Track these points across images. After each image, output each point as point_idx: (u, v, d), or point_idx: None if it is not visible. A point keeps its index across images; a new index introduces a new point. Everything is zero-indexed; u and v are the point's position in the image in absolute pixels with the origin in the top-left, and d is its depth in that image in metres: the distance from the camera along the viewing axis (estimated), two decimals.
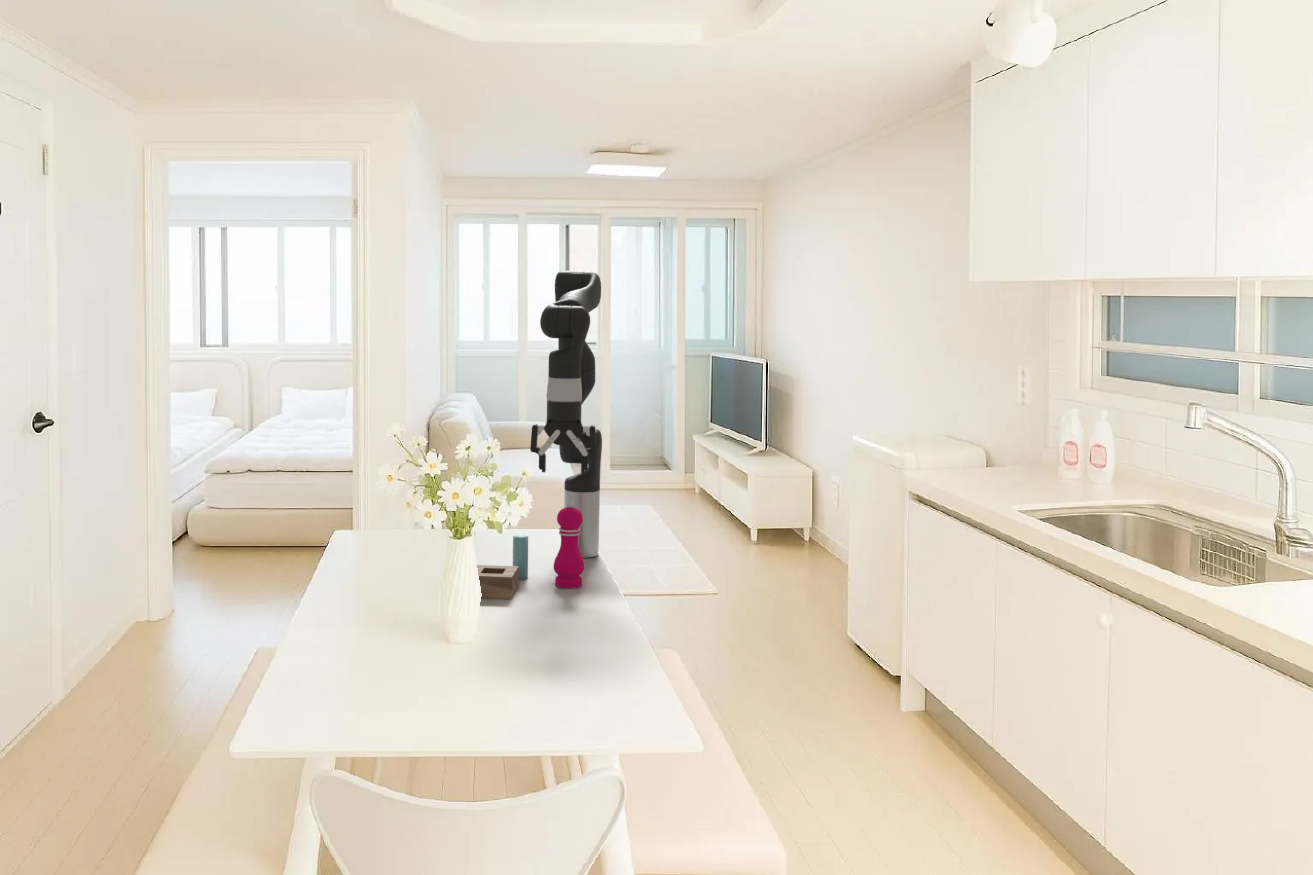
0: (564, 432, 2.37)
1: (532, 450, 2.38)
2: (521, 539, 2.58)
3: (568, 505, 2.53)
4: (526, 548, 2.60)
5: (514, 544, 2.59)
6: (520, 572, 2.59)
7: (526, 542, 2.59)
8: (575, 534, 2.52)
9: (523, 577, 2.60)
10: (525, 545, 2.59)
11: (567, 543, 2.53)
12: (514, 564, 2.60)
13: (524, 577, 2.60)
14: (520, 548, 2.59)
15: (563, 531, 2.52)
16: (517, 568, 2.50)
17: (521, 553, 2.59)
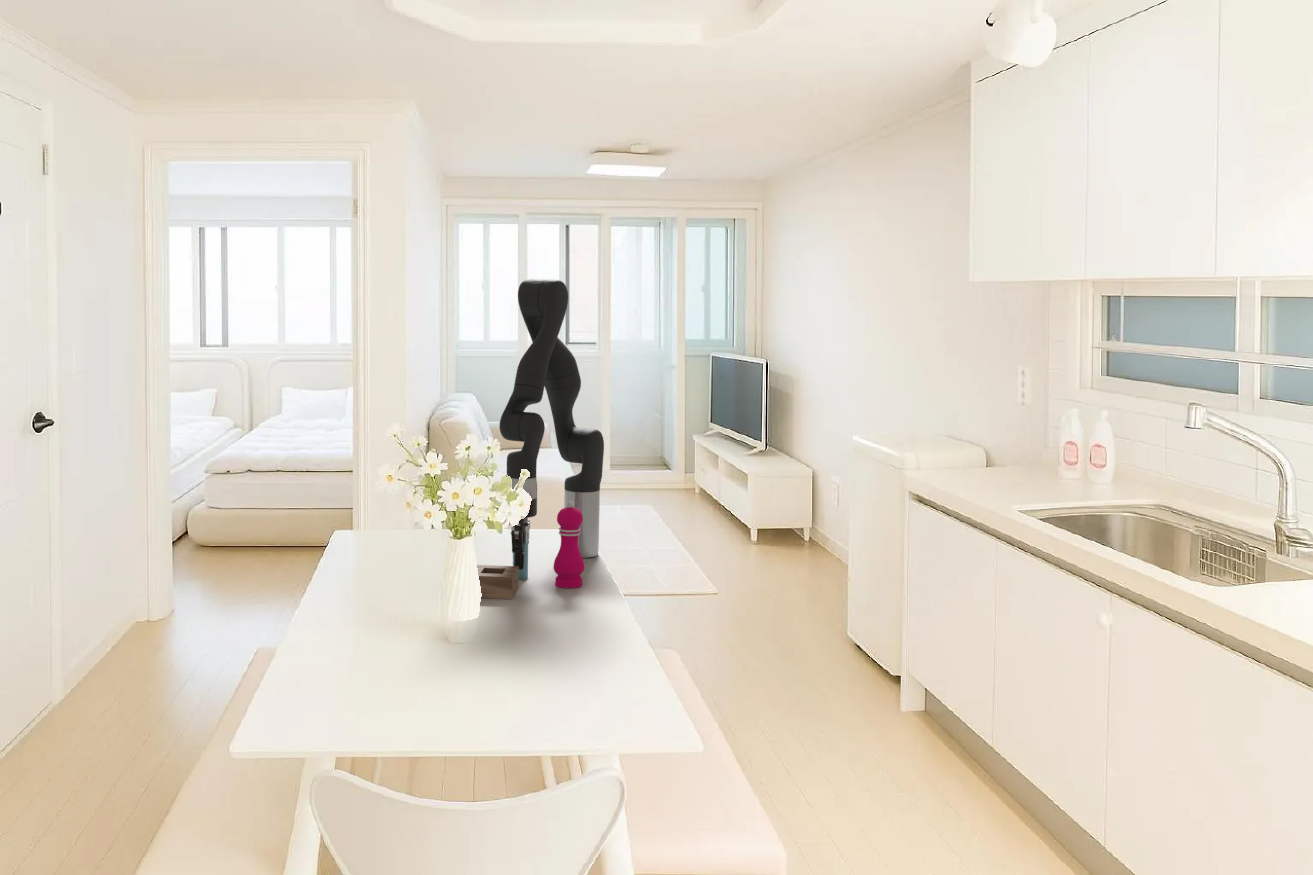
0: None
1: (523, 551, 2.56)
2: None
3: (568, 505, 2.53)
4: (526, 548, 2.60)
5: None
6: (520, 572, 2.59)
7: None
8: (575, 534, 2.52)
9: (523, 577, 2.60)
10: (525, 545, 2.59)
11: (567, 543, 2.53)
12: None
13: (524, 577, 2.60)
14: None
15: (563, 531, 2.52)
16: (517, 568, 2.50)
17: None
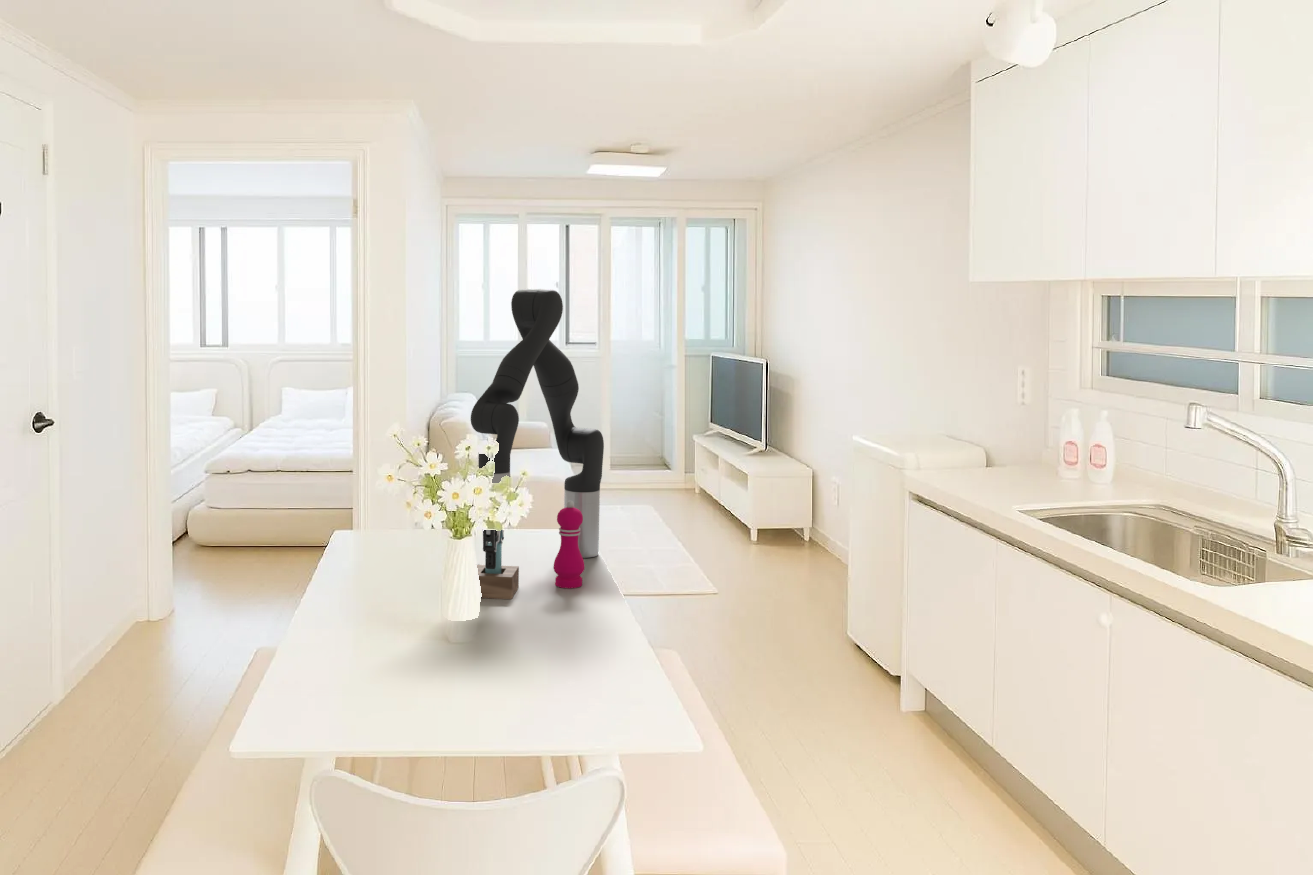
0: None
1: (494, 549, 2.41)
2: None
3: (568, 505, 2.53)
4: (499, 556, 2.46)
5: None
6: None
7: (499, 550, 2.46)
8: (575, 534, 2.52)
9: None
10: (498, 553, 2.45)
11: (567, 543, 2.53)
12: None
13: None
14: None
15: (563, 531, 2.52)
16: (517, 568, 2.50)
17: None
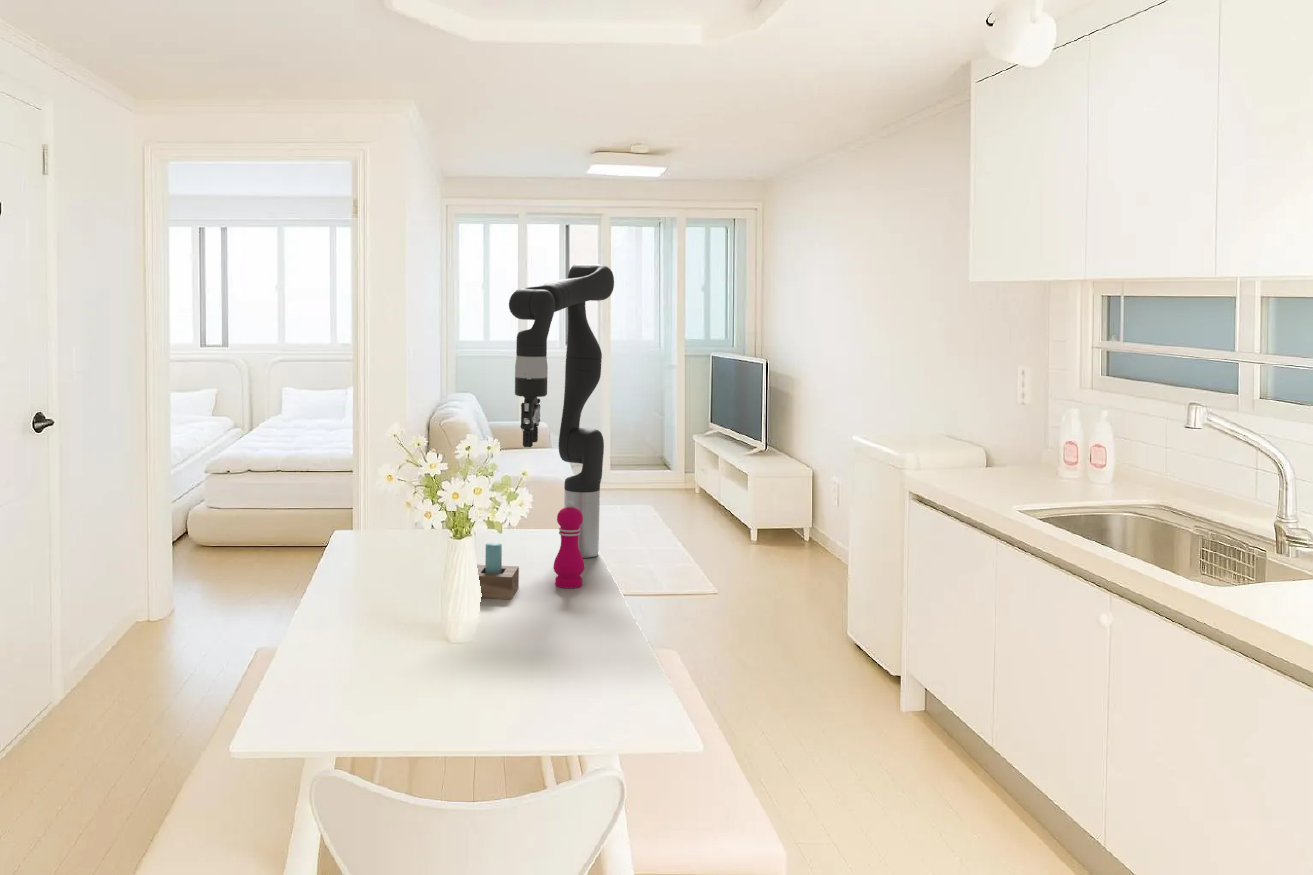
0: None
1: (531, 427, 2.50)
2: (494, 547, 2.45)
3: (568, 505, 2.53)
4: (499, 557, 2.46)
5: (487, 552, 2.45)
6: None
7: (499, 550, 2.46)
8: (575, 534, 2.52)
9: None
10: (498, 553, 2.45)
11: (567, 543, 2.53)
12: None
13: None
14: (493, 556, 2.45)
15: (563, 531, 2.52)
16: (517, 568, 2.50)
17: (494, 562, 2.45)
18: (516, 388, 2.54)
